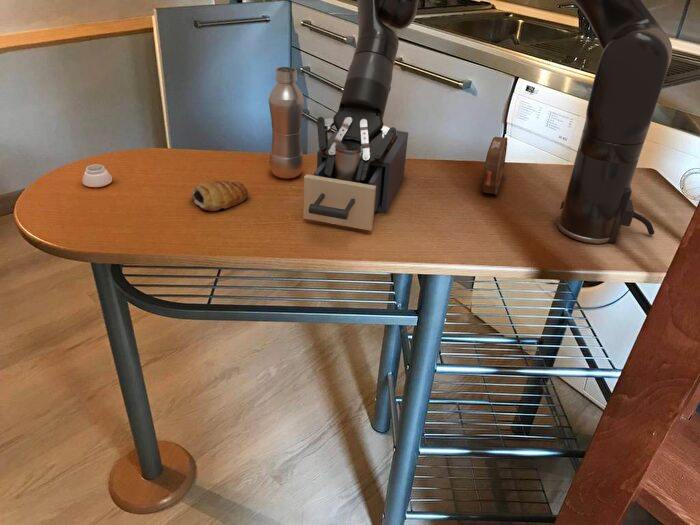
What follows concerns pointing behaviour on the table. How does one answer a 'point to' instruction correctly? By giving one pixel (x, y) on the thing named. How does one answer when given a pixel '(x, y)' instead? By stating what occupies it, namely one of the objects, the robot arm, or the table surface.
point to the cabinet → (384, 165)
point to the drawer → (343, 198)
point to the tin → (494, 165)
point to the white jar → (96, 176)
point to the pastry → (218, 194)
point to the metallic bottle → (286, 124)
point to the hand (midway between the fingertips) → (344, 181)
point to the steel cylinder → (347, 160)
